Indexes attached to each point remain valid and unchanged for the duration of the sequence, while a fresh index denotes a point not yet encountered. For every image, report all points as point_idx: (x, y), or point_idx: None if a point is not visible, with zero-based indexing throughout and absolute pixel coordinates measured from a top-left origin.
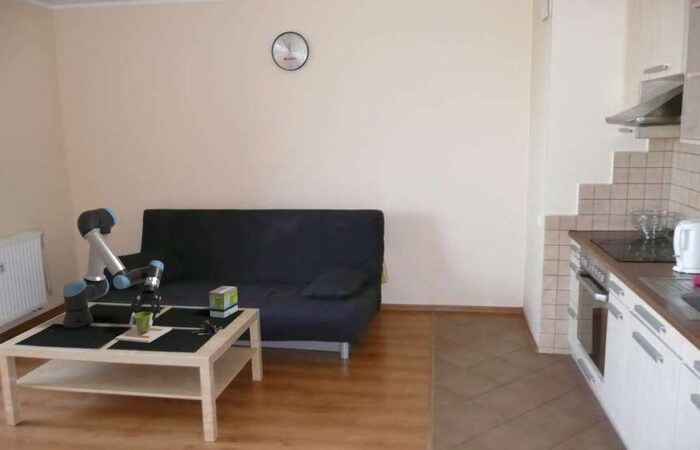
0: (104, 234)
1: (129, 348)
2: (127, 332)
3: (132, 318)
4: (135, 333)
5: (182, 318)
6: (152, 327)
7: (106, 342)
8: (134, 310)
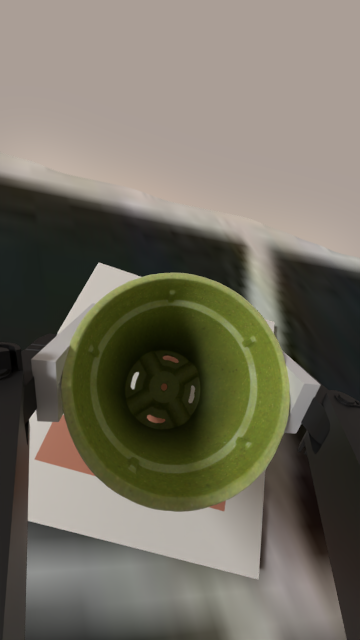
0: None
1: (165, 229)
2: None
3: None
4: None
5: None
6: (134, 508)
7: (285, 299)
8: (334, 415)
